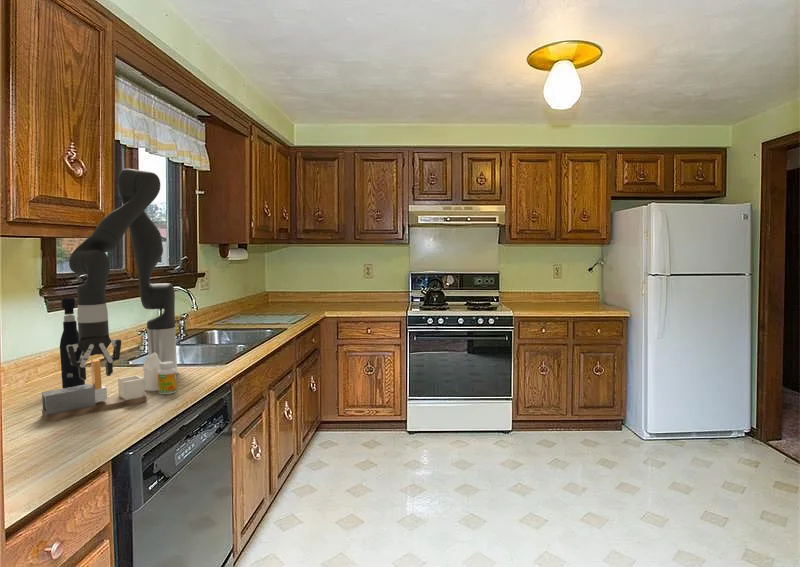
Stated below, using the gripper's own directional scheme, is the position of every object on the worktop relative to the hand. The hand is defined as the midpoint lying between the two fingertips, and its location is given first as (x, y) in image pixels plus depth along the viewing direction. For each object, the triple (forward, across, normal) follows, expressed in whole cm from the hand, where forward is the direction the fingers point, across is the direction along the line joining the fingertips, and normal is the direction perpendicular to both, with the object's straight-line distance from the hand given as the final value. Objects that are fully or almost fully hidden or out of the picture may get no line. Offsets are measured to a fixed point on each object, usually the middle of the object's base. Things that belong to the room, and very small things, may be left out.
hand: (96, 377), depth 152 cm
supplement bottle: (+9, +20, +2) cm, 22 cm away
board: (+9, 0, 0) cm, 9 cm away
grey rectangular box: (+8, -7, 0) cm, 10 cm away
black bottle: (+9, +1, +31) cm, 32 cm away
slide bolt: (+7, -5, 0) cm, 8 cm away
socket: (+8, +9, 0) cm, 12 cm away
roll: (+9, +19, +9) cm, 23 cm away
